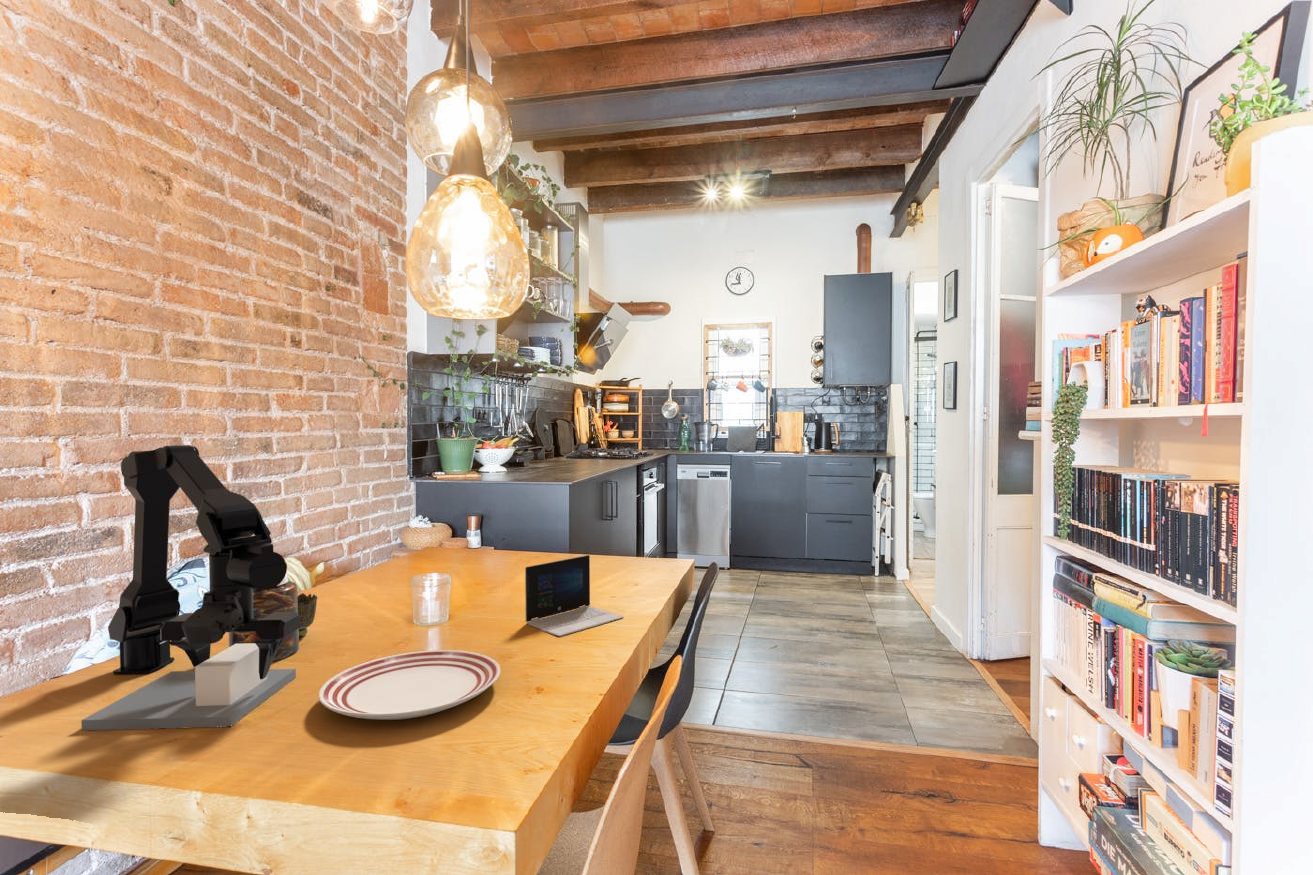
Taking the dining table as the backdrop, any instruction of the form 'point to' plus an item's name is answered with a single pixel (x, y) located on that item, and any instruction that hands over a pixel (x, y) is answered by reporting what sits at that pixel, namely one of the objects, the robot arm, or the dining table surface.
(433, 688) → the dinner plate
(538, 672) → the dining table surface
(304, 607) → the cup
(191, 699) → the board
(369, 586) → the dining table surface
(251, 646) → the housing
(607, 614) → the laptop
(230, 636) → the jar
